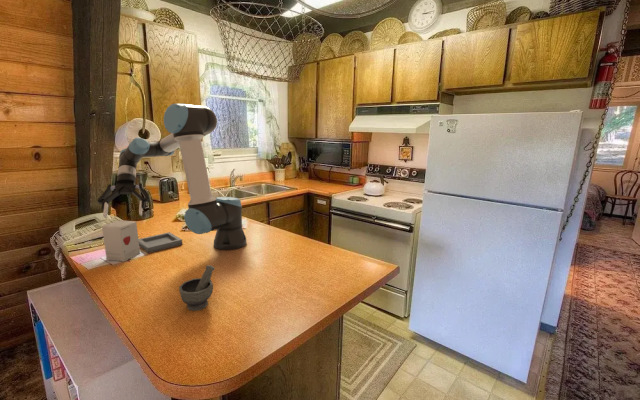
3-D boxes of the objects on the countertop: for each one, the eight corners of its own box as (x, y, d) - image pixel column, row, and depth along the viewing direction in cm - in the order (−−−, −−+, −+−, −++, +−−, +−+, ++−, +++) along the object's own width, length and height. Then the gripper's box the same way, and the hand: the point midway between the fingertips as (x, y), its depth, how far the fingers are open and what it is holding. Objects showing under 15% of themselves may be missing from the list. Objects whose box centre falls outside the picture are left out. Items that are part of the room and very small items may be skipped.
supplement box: (124, 261, 124) (119, 227, 121) (105, 259, 126) (100, 225, 122) (141, 253, 133) (137, 221, 129) (123, 251, 134) (119, 219, 131)
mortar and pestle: (189, 318, 88) (186, 280, 85) (175, 305, 94) (171, 270, 91) (223, 302, 96) (221, 268, 93) (208, 292, 102) (206, 259, 99)
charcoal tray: (182, 244, 144) (182, 239, 143) (148, 253, 133) (147, 247, 132) (170, 236, 154) (169, 232, 153) (137, 244, 143) (136, 239, 142)
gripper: (157, 180, 151) (156, 217, 141) (98, 182, 142) (92, 221, 132) (154, 171, 145) (153, 209, 135) (92, 173, 136) (86, 213, 126)
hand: (123, 215), depth 134 cm, fingers open, 13 cm apart
